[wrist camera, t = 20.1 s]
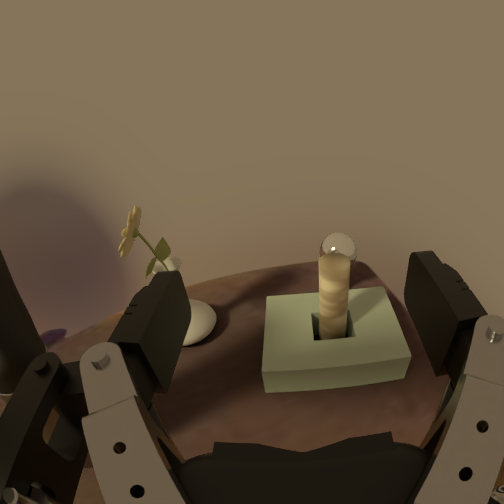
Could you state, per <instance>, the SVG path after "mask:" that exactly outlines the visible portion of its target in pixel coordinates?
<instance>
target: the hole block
mask: <svg viewBox="0 0 504 504" xmlns="http://www.w3.org/2000/svg"><path fill="white" fill-rule="evenodd" d="M346 332H347V334H348V338H341V339H330V340H319V341H314V337H313V336H314V335H319V293H307V294H294V295H280V296H267V302H266V317H265V331H264V345H263V359H262V377H263V382H264V387H265V392H266V393H270V392H294V391H309V390H322V389H333V388H342V387H351V386H359V385H366V384H373V383H380V382H386V381H392V380H398V379H403V378H404V377H405V374H406V371H407V368H408V366H409V363H410V360H411V357H412V356H411V353H410V350H409V348H408V345H407V342H406V340H405V337H404V335H403V332H402V330H401V327H400V325H399V322H398V320H397V317H396V315H395V312H394V310H393V308H392V305H391V303H390V301H389V298H388V296H387V294H386V292H385V289H384V287H383V286H382V287H372V288H363V289H352V290H349V296H348V310H347V323H346Z"/></svg>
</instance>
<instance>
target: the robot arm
mask: <svg viewBox="0 0 504 504" xmlns="http://www.w3.org/2000/svg"><path fill="white" fill-rule="evenodd" d="M404 299H405V304H406V307H407V309H408V312H409V314H410V316H411V318H412V320H413V323H414V325H415V327H416V329H417V331H418V334H419V336H420V338H421V341H422V343H423V345H424V348H425V350H426V353H427V355H428V357H429V360H430V362H431V365H432V367H433V370H434V372H435V375H436V377H437V376H441V375H445V374H448V375H449V377H450V381H449V382H448V385H447V387H446V390H445V392H444V395H443V398H442V400H441V403H440V405H439V408H438V410H437V413H436V415H435V417H434V420H433V422H432V424H431V427H430V429H429V431H428V433H427V435H426V436H425V438H424V440H423V441H422V443H421V445H420V446H419V447H417V446H414V445H410V444H406V443H400V442H393V438H392V433H391V431H390V432H385V433H380V434H374V435H368V436H361V437H354V438H348V439H345V440H343V441H340V442H337V443H334V444H331V445H328V446H325V447H321V448H318V449H315V450H311V451H308V452H296V451H291V450H285V449H280V448H275V447H271V446H266V445H261V444H252V443H224V442H214V448H213V453H207V454H203V455H199V456H196V457H193V458H191V459H188V460H186V461H185V459H184V458H183V456H182V455H181V453H180V452H179V451H178V449H177V447H176V446H175V444H174V442H173V441H172V439H171V437H170V435H169V433H168V431H167V429H166V427H165V425H164V423H163V421H162V419H161V417H160V415H159V413H158V411H157V409H156V407H155V405H154V403H153V401H152V397H153V394H154V392H156V393H166V394H167V391H168V388H169V385H170V382H171V379H172V376H173V373H174V370H175V367H176V364H177V361H178V358H179V355H180V352H181V349H182V346H183V343H184V340H185V337H186V334H187V331H188V328H189V325H190V322H191V306H190V302H189V299H188V296H187V293H186V290H185V286H184V283H183V280H182V277H181V274H180V272H179V271H177V270H176V271H161V272H157V273H156V274H155V276H154V277H153V279H152V281H151V282H150V284H149V286H145V287H143V288H142V289H141V290H140V291H139V292H138V293H137V294H135V296H134V297H133V299H132V301H131V302H130V304H129V307H127V309H126V311H125V312H124V315H123V316H122V317H121V319H120V321H119V322H118V324H117V326H116V328H115V329H114V331H113V333H112V335H111V336H110V338H109V340H108V342H103V343H99V344H97V345H94V346H93V347H91V348H90V349H88V350H87V351H86V352H85V353H84V355H83V356H82V358H81V360H80V361H77V362H71V363H65V364H63V363H62V361H61V360H60V359H59V357H58V356H57V355H56V354H55V353H52V352H49V350H48V349H47V347H46V346H45V344H44V342H43V341H42V339H41V338H40V336H39V334H38V332H37V330H36V328H35V325H34V323H33V321H32V318H31V316H30V314H29V312H28V310H27V308H26V306H25V305H24V303H23V301H22V299H21V297H20V295H19V293H18V291H17V288H16V286H15V284H14V282H13V279H12V277H11V274H10V272H9V269H8V267H7V265H6V262H5V260H4V257H3V255H2V252H1V250H0V398H1V399H2V400H3V401H4V402H5V403H6V404H7V405H6V407H5V409H4V411H3V413H2V415H1V417H0V504H73V501H74V497H75V494H76V490H77V487H78V483H79V480H80V476H81V473H82V470H83V467H92V466H93V467H94V471H95V474H96V477H97V480H98V483H99V486H100V489H101V492H102V494H103V497H104V500H105V502H106V504H501V503H499V502H498V501H497V500H495V499H494V498H492V497H491V493H492V490H493V488H494V485H495V482H496V479H497V476H498V474H499V470H500V467H501V464H502V461H503V458H504V319H503V318H501V317H499V316H495V315H488V314H487V312H486V311H485V310H484V308H483V307H482V305H481V304H480V302H479V301H478V300H477V298H476V297H475V295H474V294H473V292H472V291H471V290H469V287H468V286H467V284H466V283H465V282H463V279H462V278H461V276H460V275H459V274H458V272H457V271H456V270H454V269H453V268H451V267H450V266H449V265H447V264H442V262H441V261H440V260H439V258H438V257H437V256H436V255H435V253H434V252H433V251H422V252H413V253H411V255H410V258H409V265H408V271H407V277H406V283H405V289H404ZM45 442H47V443H48V445H47V444H46V443H45Z"/></svg>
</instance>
